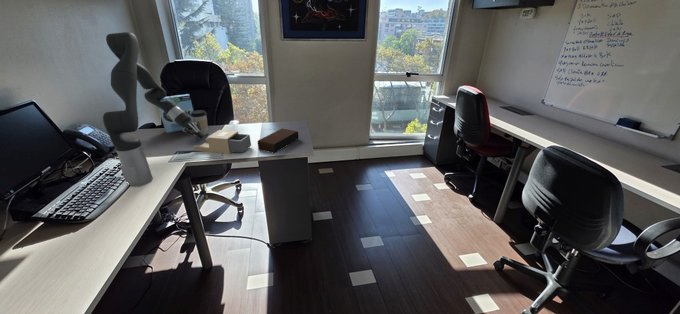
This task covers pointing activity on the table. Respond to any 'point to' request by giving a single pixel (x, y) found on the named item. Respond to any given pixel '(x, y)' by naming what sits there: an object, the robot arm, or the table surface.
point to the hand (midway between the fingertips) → (202, 137)
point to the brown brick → (277, 140)
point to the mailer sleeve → (217, 142)
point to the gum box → (182, 103)
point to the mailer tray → (239, 142)
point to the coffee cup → (200, 120)
